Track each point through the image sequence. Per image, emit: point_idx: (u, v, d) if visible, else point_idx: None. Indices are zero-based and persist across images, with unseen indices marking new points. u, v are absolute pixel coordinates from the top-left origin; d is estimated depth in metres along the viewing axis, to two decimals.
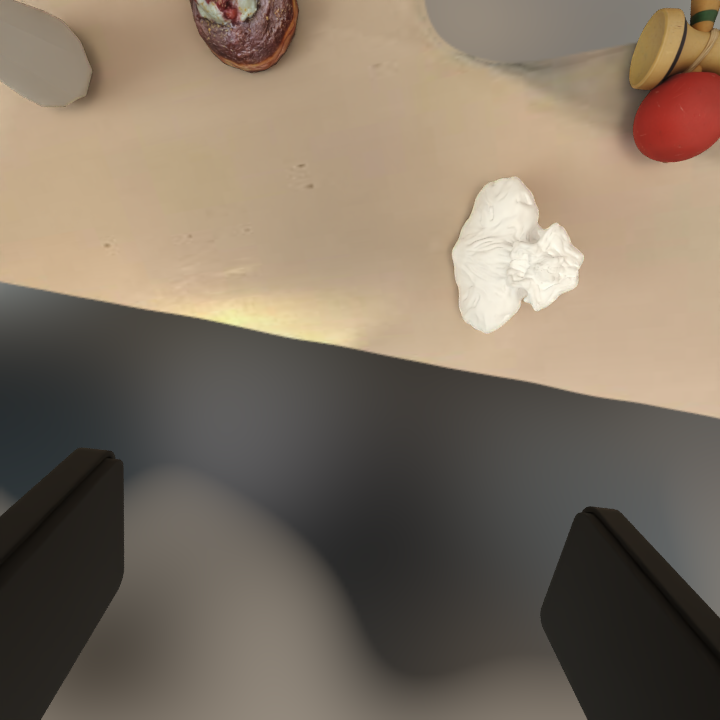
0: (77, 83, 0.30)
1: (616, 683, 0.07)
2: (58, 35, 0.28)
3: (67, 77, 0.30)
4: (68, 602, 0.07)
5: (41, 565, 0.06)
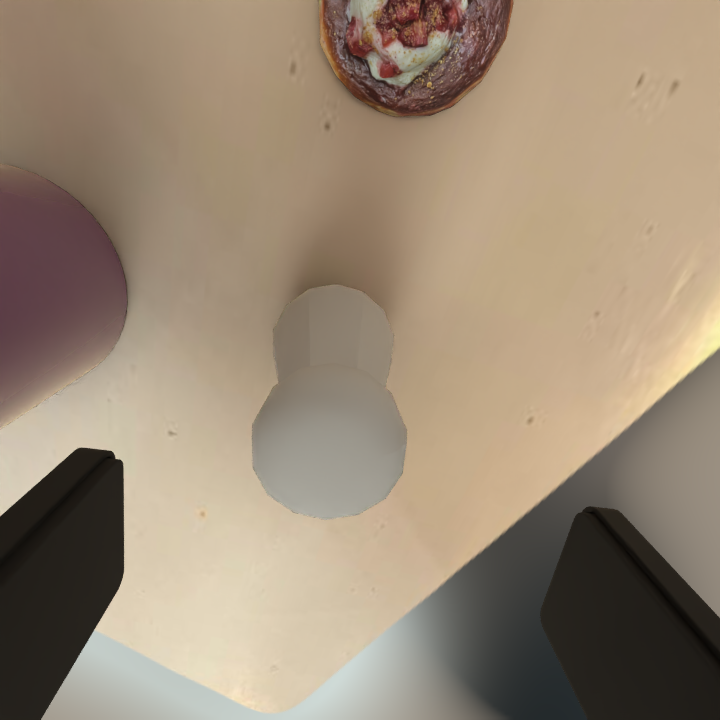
0: (386, 321, 0.20)
1: (616, 683, 0.07)
2: (343, 301, 0.19)
3: (385, 328, 0.20)
4: (68, 602, 0.07)
5: (41, 565, 0.06)
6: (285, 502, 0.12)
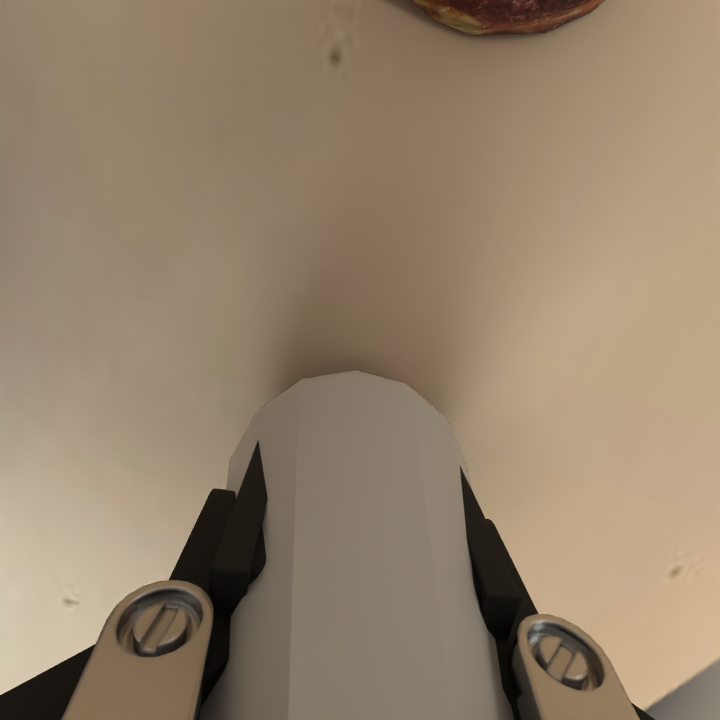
0: (457, 448, 0.10)
1: None
2: (374, 430, 0.08)
3: None
4: None
5: None
6: None
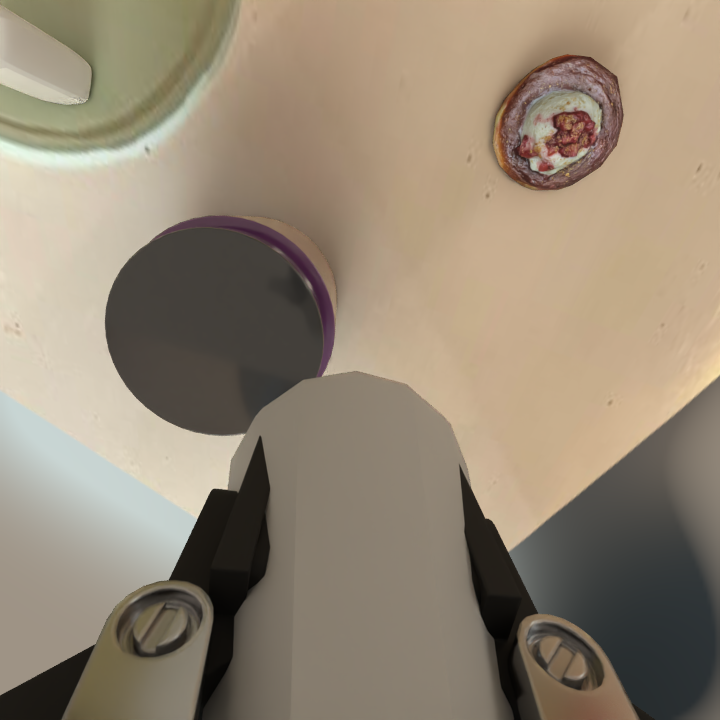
0: (457, 448, 0.10)
1: None
2: (375, 430, 0.08)
3: None
4: None
5: None
6: None
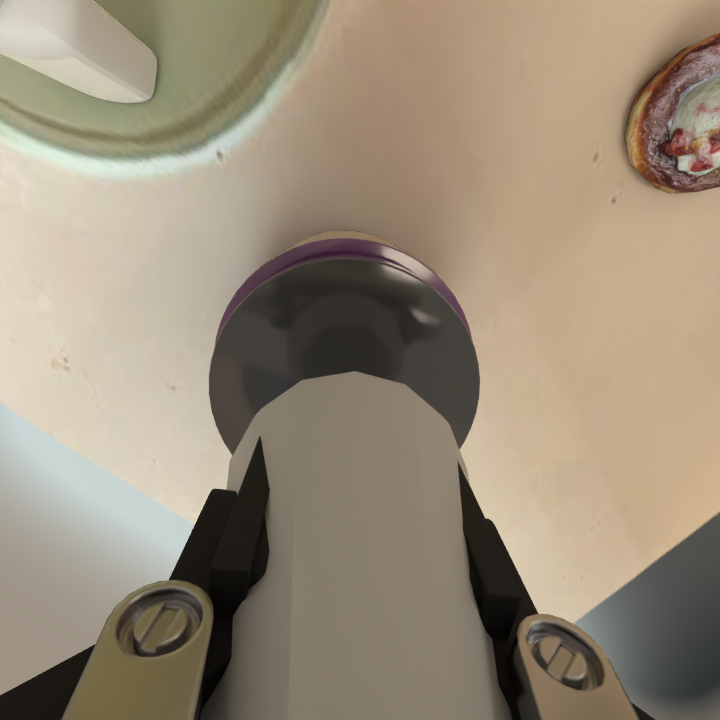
0: (456, 448, 0.10)
1: None
2: (374, 430, 0.08)
3: None
4: None
5: None
6: None
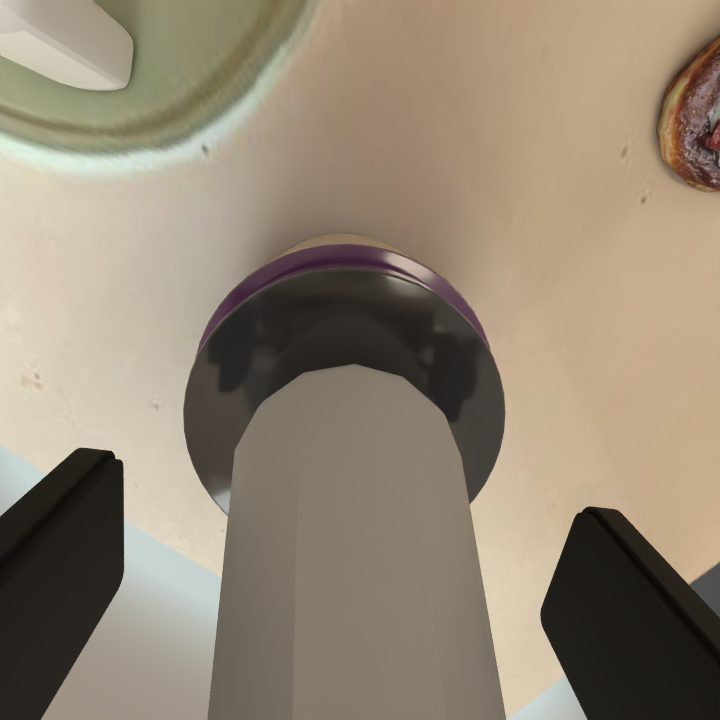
0: (451, 437, 0.11)
1: (616, 683, 0.07)
2: (372, 418, 0.09)
3: (453, 460, 0.10)
4: (68, 602, 0.07)
5: (41, 565, 0.06)
6: None
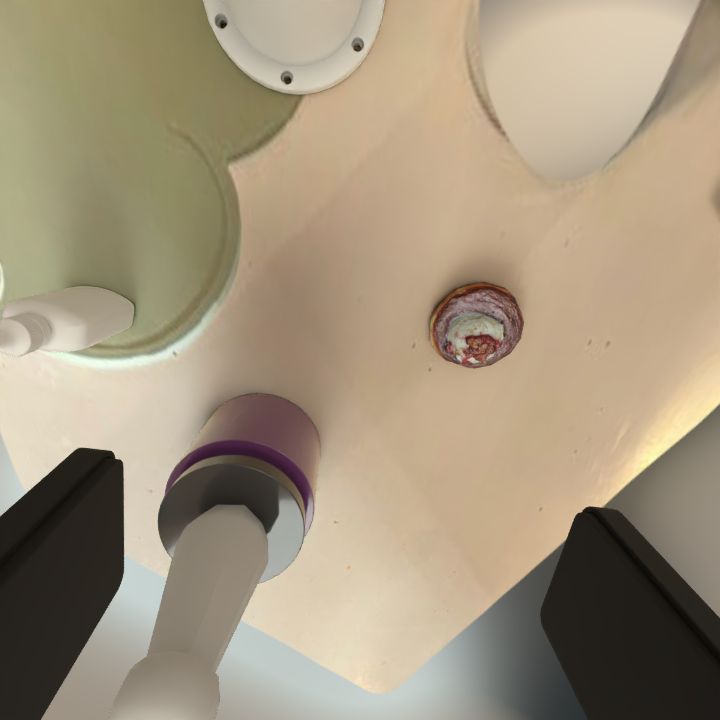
0: (258, 540, 0.27)
1: (616, 683, 0.07)
2: (217, 540, 0.25)
3: (253, 551, 0.26)
4: (68, 602, 0.07)
5: (41, 565, 0.06)
6: None
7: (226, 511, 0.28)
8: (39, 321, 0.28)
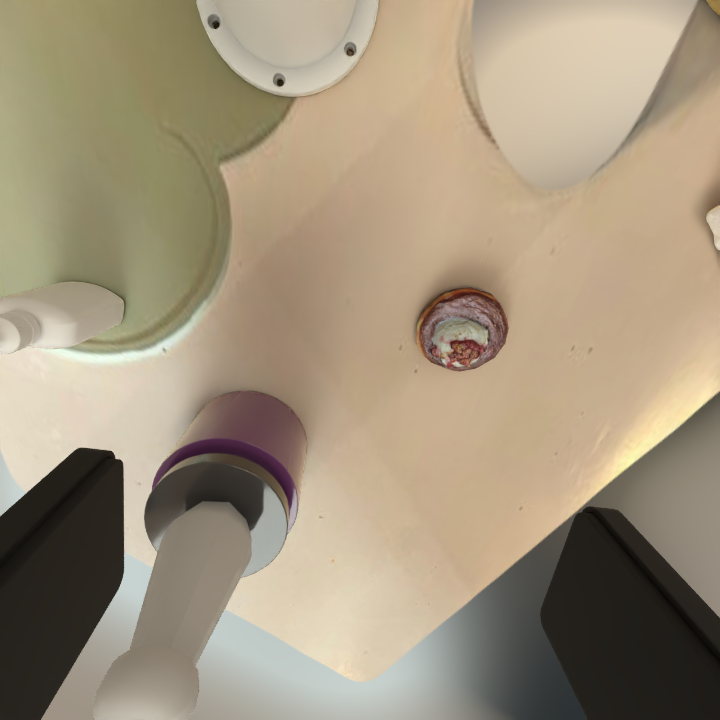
0: (242, 537, 0.28)
1: (616, 683, 0.07)
2: (201, 537, 0.26)
3: (236, 548, 0.27)
4: (68, 602, 0.07)
5: (41, 565, 0.06)
6: None
7: (211, 508, 0.28)
8: (29, 319, 0.28)
